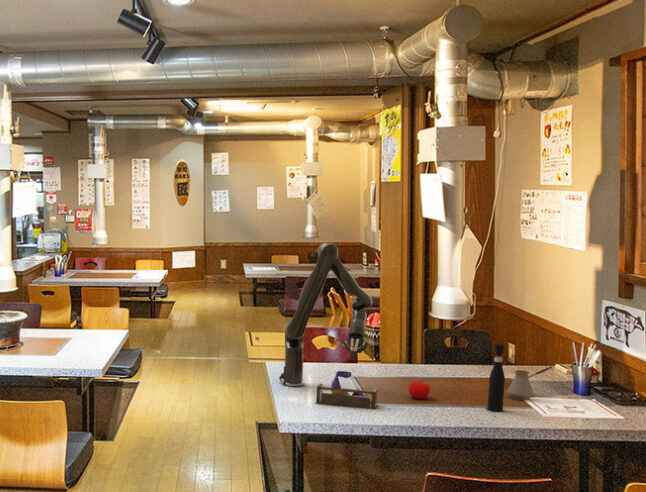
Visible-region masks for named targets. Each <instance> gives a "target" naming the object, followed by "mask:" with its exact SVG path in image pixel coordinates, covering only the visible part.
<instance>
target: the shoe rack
mask: <svg viewBox="0 0 646 492" xmlns="http://www.w3.org/2000/svg"><path fill="white" fill-rule="evenodd" d="M323 385H324V384H323V383H319V384H318V385H317V386H316V397H315V398H316V399H315V404H317V405H327V406H328V405H329V406H339V407H349V408H360V409H371V410H375V409H376V407H377V401H378V400H377V399H378V388H376V387H373V389H372V390H366V389H359V390H357V389H356V388H355V389H354V388H343V387H341V388H332V387H331V386H323ZM323 391H330V392H331V391H342V392H348V393H352V394H353V393H363V394H364V395H366V394H367V395H371V396H367V397H363V396H352V394H350V395H341V394H332V393H328V392H323ZM370 398H371V399H372V402H371V403H370Z"/></svg>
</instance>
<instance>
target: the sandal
mask: <svg viewBox="0 0 646 492" xmlns="http://www.w3.org/2000/svg"><path fill="white" fill-rule="evenodd" d="M352 374H353V373H352V371H346V370H337V371H336V372H335V376H334V378H333V380H332V381H331V386H330V387H332V388H342V386H341V383H340V380H339V378H343V379H349V378H351V377H352ZM356 390H360V389H359V388H357V389H356ZM330 392H331V393H330V394H341V395H352V396H363V397H368V395H366V394H365V393H353V392H352V394H350V392H342V391H331V390H330ZM370 404H372V397H370Z"/></svg>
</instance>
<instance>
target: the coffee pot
mask: <svg viewBox="0 0 646 492" xmlns="http://www.w3.org/2000/svg"><path fill="white" fill-rule="evenodd" d="M550 369H551V371H555V370H554V368H553V366H549V367H546V368H544V369H543V368H542V369H541V370H538V371H537V372H535V373H532V374H530V372H529V371H527V370H521V369H519V370H518V369H517V370H514V373H515V376H514V378H513V379H512V382H511V383H510V385H509V386H508V389H507V390H506V392H507V394H508V396H509V397H511V399H513V400H517V401H527V400H530V399H531V398H532V397H533V396H534V394H535V393H534V389H533V387H532V384H531V382H530V378H533V377H535V376H537V375H539V374H542V373H545V372H547V371H549V370H550ZM529 374H530V375H529Z"/></svg>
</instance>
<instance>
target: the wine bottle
mask: <svg viewBox="0 0 646 492" xmlns="http://www.w3.org/2000/svg"><path fill="white" fill-rule="evenodd" d="M493 351H494V352H495V357H494V361H493V365H492V366H493V367H492V369H491V371H490V374H489V380H488V394H487V406H486V409H487V410H488V411H490V412H496V413H498V412H499V413H500V412H503V411H504V399H505V396H504V395H505V382H506V377H505V372H504V368H503V366H504V364H503V363H504V361H503V353H504V352H505V344H503V343H495V344H494V350H493Z"/></svg>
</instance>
